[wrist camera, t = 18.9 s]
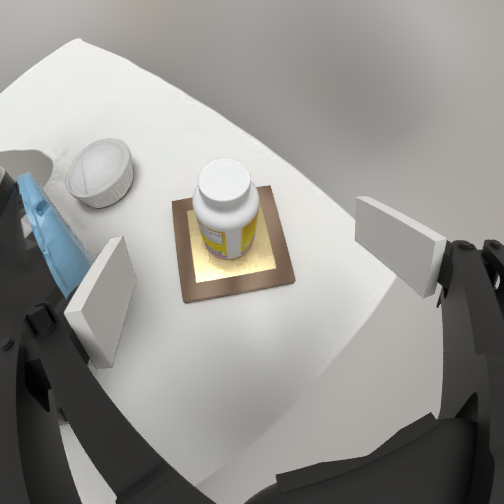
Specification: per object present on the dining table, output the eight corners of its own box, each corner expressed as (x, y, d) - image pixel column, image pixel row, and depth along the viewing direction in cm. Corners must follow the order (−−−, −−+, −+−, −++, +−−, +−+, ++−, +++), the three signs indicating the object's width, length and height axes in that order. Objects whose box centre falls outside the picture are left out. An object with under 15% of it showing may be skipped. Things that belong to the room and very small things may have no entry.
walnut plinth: (185, 303, 34) (183, 301, 32) (173, 206, 38) (171, 201, 37) (293, 283, 36) (295, 280, 34) (269, 191, 40) (270, 185, 39)
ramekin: (68, 197, 39) (53, 180, 34) (109, 149, 42) (99, 130, 37) (107, 226, 37) (92, 209, 32) (152, 171, 41) (144, 150, 36)
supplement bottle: (249, 209, 37) (255, 146, 25) (258, 256, 35) (270, 205, 23) (199, 217, 36) (184, 155, 24) (205, 264, 34) (189, 217, 22)
